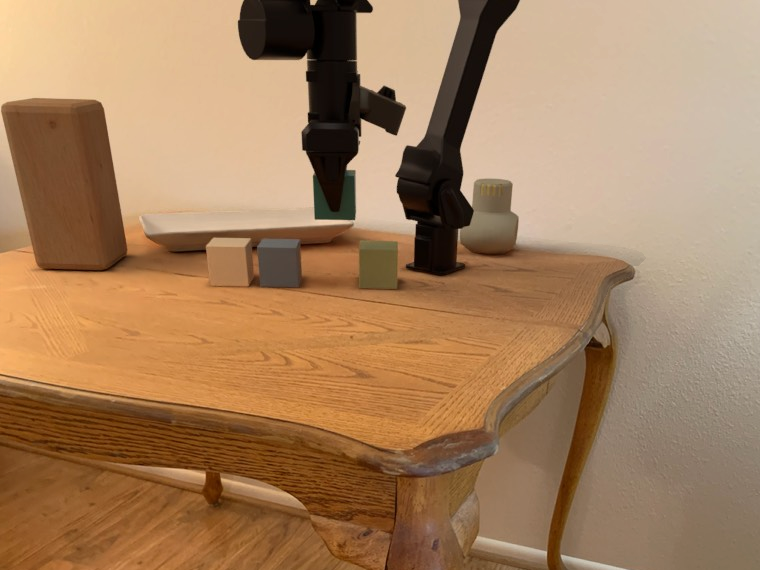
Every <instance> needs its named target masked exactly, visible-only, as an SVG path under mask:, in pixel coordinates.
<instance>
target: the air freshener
mask: <svg viewBox="0 0 760 570" xmlns="http://www.w3.org/2000/svg"><path fill="white" fill-rule="evenodd" d="M512 197H513V182H512V181H511V180H509V179H503V178H477V179H476V180H475V181H474V182H473V189H472V202H471V207H472V208H473V209H474V213H473V216H472V220H471V223H470V226H466V227H463V229H459V243H460V244H461V246H463V247H464V248H465V249H467V250H469V251H470V252H474V253H477V254H485V255H487V254H488V255H500V254H505V253H508V252H509V251H511V250H514V248H515V247H516V244H517V239H518V232H519V216H518V214H516V213H515V212H514V211H512V209H511V208H512Z"/></svg>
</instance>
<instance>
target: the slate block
mask: <svg viewBox="0 0 760 570" xmlns="http://www.w3.org/2000/svg"><path fill="white" fill-rule="evenodd" d="M256 251H257V264H258V265H257V266H258V276H259V286H260V287H261V288H299V286H300V284H301V281H302V279H303V271H302V270H303V269H302V252H301V251H302V248H301V244H300V239H262V240H261V242H260V244H259V245H258V247H256Z"/></svg>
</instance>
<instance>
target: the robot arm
mask: <svg viewBox="0 0 760 570" xmlns="http://www.w3.org/2000/svg"><path fill="white" fill-rule="evenodd" d="M520 1H521V0H457V3H458V4H457V5H458V10H459V16H460V17H459V22H458V25H457V28H456V32H455V35H454V38H453V42H452V45H451V49H450V52H449V55H448V58H447V61H446V65H445V69H444V72H443V75H442V78H441V82H440V85H439V88H438V92H437V96H436V99H435V102H434V106H433V108H432V112H431V114H430V119H429V122H428V125H427V128H426V132H425V134H424V137H423V138H422V140H421V141H420V142H419V143H418V144H417V145H416V146H414V145H408V144H407V145H405V147H404V149H403V150H402V155H401V156H402V157H401V162H400V166H399V168H398V170H397V172H396V173H395V175H394V176H395V178H398V179H397V183H396V194H397V195H398V198H399V201H400V203H401V205H402V209H403V213H404V216H405V220H408V221H414V222H417V223H415V231H414V235H415V236H414V241H413V242H414V243H413V244H414V245H413V261H412V262H409V263H406V264H405V269H409V270H413V271H419V272H423V273H428V274H433V275H439V276H445V275H447V274H450V273H453V272H455V271H459V270H461V269H464V268H466V263H465V262H459V261H458V257H457V256H458V243H459V230H460V229H463V227H466V226H470V223H471V220H472V216H473V213H474V209H473V208H472V204H470V202H469V201H468V199H467V198H466V196H465V195H464V193H463V192H462V191H461V189H462V184H463V180H464V179H463V178H464V167H463V159H462V154H461V153H462V152H461V148H462V144H463V141H464V137H465V135H466V132H467V128H468V125H469V122H470V118H471V116H472V114H473V109H474V106H475V103H476V100H477V96H478V94H479V90H480V87H481V84H482V81H483V78H484V74H485V71H486V67H487V65H488V62H489V58H490V55H491V52H492V50H493V46H494V43H495V39H496V36H497V34H498V32H499V30H500V29H501V27H502V26H503V25H504V24H505V23H506V22H507V21H508V19H509V18H510V17H511V16H512V14H514V12H515V11H516V10H517V8H518V6H519V4H520ZM373 12H374V6H373V5H372V4H371V3H370V1H369V0H316V1H315V3H314V4H312V3H311V0H243V1H242V3H241V6H240V11H239V18H238V20H237V31H238V37H239V42H240V45H241V47H242V50H243V52H244V54H245V55H246V56H247V58H249V59H250V60H252V61H301V60H303V59H304V58H305V56H306V67H307V68H306V71H305V82H307V93H308V94H307V95H308V96H307V97H308V112H307V125H305V127H304V128H303V129H302V130H301V131H300V133H301V151H302V152H303V151H304V152H305V154H306V156H307V158H308V160H309V162H310V165H311V167H312V170H313V173H314V172H315V174H316V177H317V179H318V182H319V184H320V186H321V189H322V191H323V194H324V196H325V199H326V201H327V204H328V206H329V209H330V211H331V212H339V211H340V205H341V198H342V191H343V184H344V178H345V171H346V170H348V165H349V164H350V163H351V161H353V159H354V158H355V157H356V156H357V155H358V154H359V149H360V144H361V140H360V138H362V132H363V131H362V121H364V122H367V123H370V124H372V125H374V126H376V127H378V128H381V129H383V130H385V132H386V133H387V134H390V135H393V136H394V137H395V136H396V137H397V136H398V133H399V132H400V128H401V126H402V125H401V124H402V122H403V119H404V116H405V112H406V110H407V106H406V105H405V104H403V103H402V102H399V101H397V98H396V97H397V95H396V90H395V89H394V88H392V87H389V86H387V85H382V87H380V89H379V90H378V91H374V90H373V89H369V88H368V87H365V86H362V85H361V73H359V71H358V40H357V39H358V33H357V32H358V29H357V28H358V26H357V25H358V23H357V22H358V21H357V14H371V13H373Z"/></svg>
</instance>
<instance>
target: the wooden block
mask: <svg viewBox="0 0 760 570" xmlns="http://www.w3.org/2000/svg"><path fill="white" fill-rule="evenodd" d="M0 108H1V109H0V113H1V117H2V122H3V127H4V130H5V134H6V138H7V143H8V148H9V153H10V156H11V160H12V164H13V169H14V173H15V177H16V183H17V186H18V190H19V195H20V199H21V203H22V208H23V213H24V216H25V220H26V225H27V229H28V233H29V238H30V243H31V247H32V251H33V255H34V259H35V263H36V265H37V267H38V268H41V269H44V270H70V271H105V270H107V269H109V268H111V267H112V266H113V265H115V264H116V263H117V262H119V261H120V260H121V259H123V258H124V257H126V256H127V254H128V243H127V239H126V233H125V226H124V221H123V215H122V208H121V204H120V196H119V190H118V184H117V178H116V172H115V167H114V166H115V165H114V161H113V155H112V148H111V143H110V137H109V130H108V125H107V119H106V113H105V108H104V106H103V104H102V102H101V101H98V100H97V99H89V98H88V99H87V98H86V99H84V98H53V97H48V98H47V97H32V98H31V97H30V98H25V99H19V100H11V101H6V102H4V103H2V104H1V107H0Z"/></svg>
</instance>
